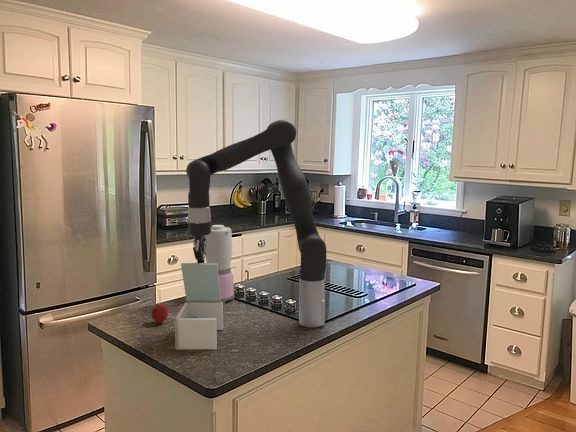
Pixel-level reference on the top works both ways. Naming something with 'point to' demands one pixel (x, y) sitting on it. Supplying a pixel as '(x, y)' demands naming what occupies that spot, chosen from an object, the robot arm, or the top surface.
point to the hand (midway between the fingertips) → (201, 269)
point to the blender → (221, 258)
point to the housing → (198, 325)
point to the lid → (201, 282)
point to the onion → (159, 313)
